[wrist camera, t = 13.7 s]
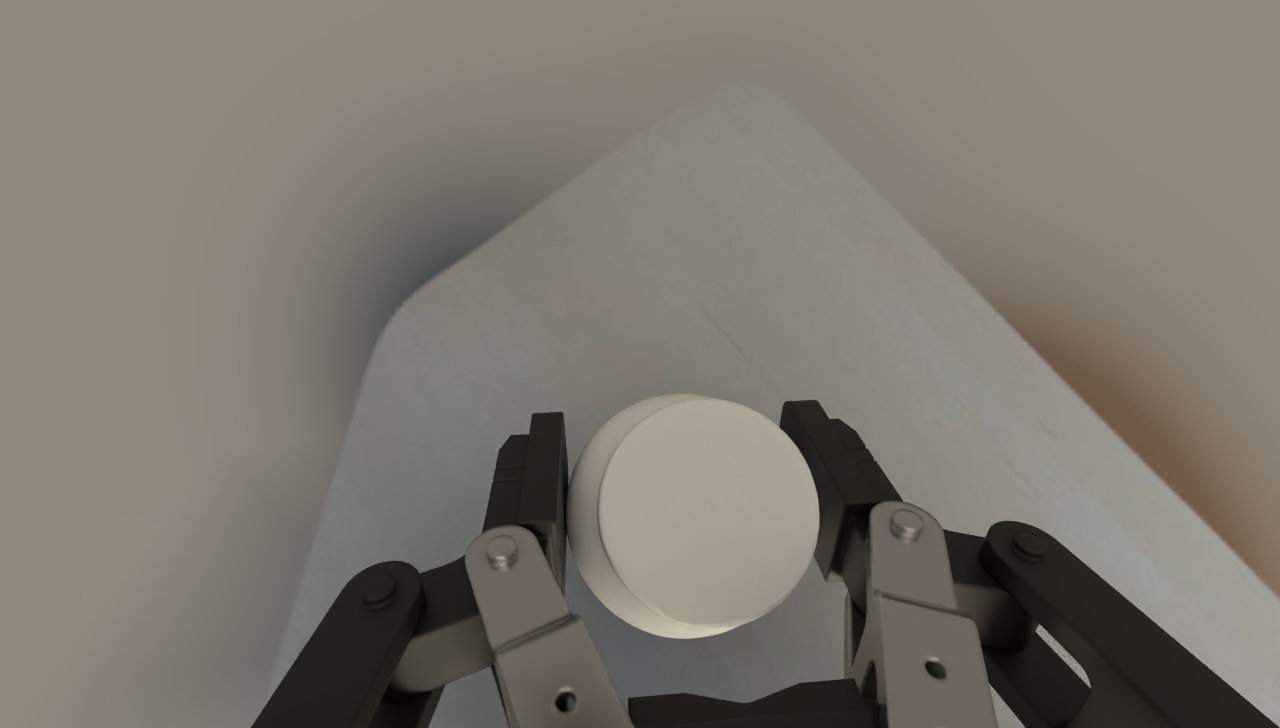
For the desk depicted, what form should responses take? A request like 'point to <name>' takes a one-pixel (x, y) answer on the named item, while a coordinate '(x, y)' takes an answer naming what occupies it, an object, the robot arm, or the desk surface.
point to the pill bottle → (691, 515)
